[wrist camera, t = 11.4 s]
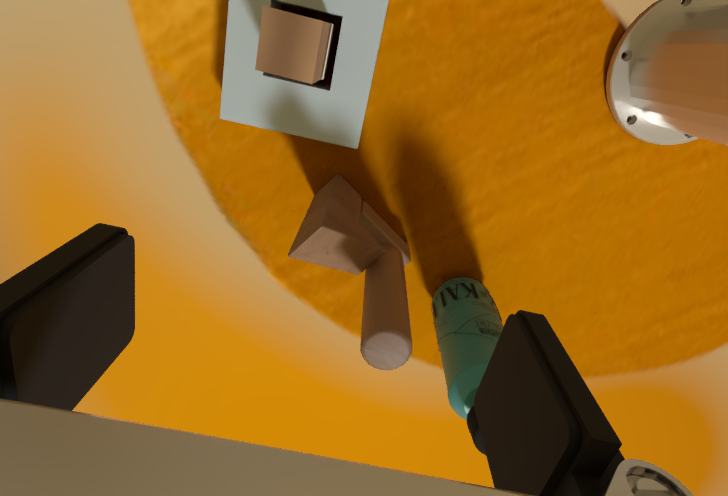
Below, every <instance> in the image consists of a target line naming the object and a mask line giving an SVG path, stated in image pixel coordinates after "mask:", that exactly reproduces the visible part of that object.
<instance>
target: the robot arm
mask: <svg viewBox="0 0 728 496" xmlns="http://www.w3.org/2000/svg"><path fill="white" fill-rule="evenodd" d="M622 53H624V57H623V58H621V57H622ZM606 94H607V101H608V104H609V108H610V111H611V113H612V115H613V117H614V118H615V120H616V122H617V123H618V124H619V125H620V126H621V127H622V128H623V129H624V130H625V131H626V132H627V133H629V134H630V135H632V136H634V137H635V138H638V139H640V140H643V141H645V142H649V143H653V144H658V145H675V144H681V143H687V142H690V141H693V140H696V139H699V138H702V139H706V140H709V141H713V142H716V143H719V144H723V145H726V146H728V0H682V3H681V0H659V1H657V2H655V3H653V4H652V5H651V6H650V7H648V8H647V9H646V10H645V11H644V12H642V13H641V14H640V15H639V16H638V17H637V18H636V19H635V20H634V22H633V23H632V24H631V25H630V26H629V27H628V28H627V30H626V31H625V33H624V34H623V36H622V37H621V39H620V40H619V42H618V44H617V46H616V48H615V50H614V52H613V55H612V57H611V60H610V64H609V67H608V71H607V79H606ZM628 117H629V119H628V121H627V118H628ZM134 244H135V243H134V238H133V237H132V236H130V235H128V232H127V230H126V229H125V228H121V227H116V226H111V225H107V224H102V223H99V224H96V225H94V226H93V227H91V228H89V229H88V230H86V231H85V232H83V233H82V234H80V235H78V236H77V237H75V238H73V239H72V240H70V241H69V242H67V243H65V244H64V245H63V246H61V247H59V248H57V249H56V250H55V251H53V252H51V253H50V254H48V255H46V256H45V257H43V258H42V259H40V260H38V261H37V262H35V263H34V264H32V265H30V266H29V267H27V268H26V269H24V270H23V271H21V272H19V273H18V274H16V275H14V276H13V277H11V278H10V279H8V280H6V281H5V282H4V283H2V284H0V496H693V494H692V493H691V492H690V491H689V490H688V489H687V488H686V487H685V486H684V485H683V484H682V483H681V482H680V481H679V480H677V479H676V478H674V477H673V476H672V475H670V474H669V473H667V472H666V471H664V470H663V469H661V468H659V467H657V466H655V465H653V464H651V463H648V462H645V461H642V460H636V459H628V460H625V459H624V457H623V456H622V454H621V452H620V451H619V448H620V447H621V445H622V443H621V441H620V440H619V438H618V437H617V435H616V433H615V432H614V430H613V428H612V427H611V425H610V423H609V422H608V420H607V419H606V417H605V415H604V413H603V412H602V410H601V408H600V407H599V405H598V404H597V402H596V400H595V399H594V397H593V395H592V394H591V392H590V390H589V389H588V387H587V385H586V384H585V382H584V380H583V379H582V377H581V375H580V374H579V372H578V371H577V369H576V367H575V366H574V364H573V362H572V361H571V359H570V357H569V356H568V354H567V352H566V351H565V349H564V347H563V346H562V344H561V342H560V341H559V339H558V337H557V336H556V334H555V333H554V331H553V329H552V328H551V326H550V324H549V323H548V321H547V319H546V318H545V316H544V315H542V314H537V313H532V312H527V311H522V310H520V311H518V312H517V313H516V314H515V315H514V314H511V315H509V317H508V318H507V320H506V323H505V325H504V328H503V330H502V332H501V335H500V337H499V339H498V342H497V344H496V347H495V349H494V351H493V354H492V356H491V359H490V361H489V363H488V366H487V368H486V370H485V373H484V375H483V378H482V380H481V382H480V385H479V387H478V390H477V392H476V395H475V399H474V409H475V413H476V417H477V421H478V425H479V429H480V433H481V437H482V440H483V444H484V448H485V452H486V456H487V460H488V463H489V468H490V471H491V475H492V479H493V483H494V487H495V488H492V487H486V486H481V485H475V484H470V483H465V482H459V481H454V480H449V479H444V478H438V477H433V476H427V475H422V474H417V473H412V472H406V471H401V470H396V469H390V468H385V467H379V466H374V465H369V464H362V463H358V462H352V461H347V460H341V459H336V458H330V457H325V456H320V455H314V454H309V453H303V452H298V451H292V450H287V449H281V448H276V447H270V446H264V445H259V444H254V443H248V442H243V441H237V440H232V439H226V438H221V437H215V436H210V435H204V434H199V433H193V432H187V431H181V430H176V429H171V428H165V427H160V426H154V425H149V424H143V423H137V422H131V421H125V420H120V419H114V418H108V417H103V416H98V415H92V414H86V413H81V412H75V411H72V410H73V409H74V407H75V406H76V405H77V404H78V403H79V402H80V401H81V399H82V398H83V397H84V396H85V395H86V393H87V392H88V391H89V390H90V389H91V388H92V386H93V385H94V384H95V383H96V382H97V380H98V379H99V378H100V377H101V376H102V375H103V373H104V372H105V371H106V370H107V369H108V367H109V366H110V365H111V364H112V363H113V362H114V360H115V359H116V358H117V357H118V356H119V354H120V353H121V352H122V351H123V350H124V349H125V347H126V346H127V345H128V344H129V342H130V341H131V339H132V337H133V334H134V330H135V245H134Z"/></svg>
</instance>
